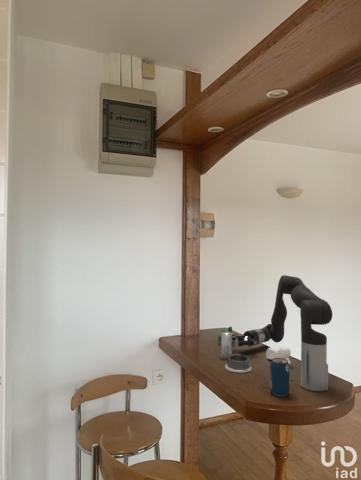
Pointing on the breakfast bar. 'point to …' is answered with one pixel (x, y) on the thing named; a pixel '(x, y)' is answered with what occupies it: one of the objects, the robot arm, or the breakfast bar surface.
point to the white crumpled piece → (278, 353)
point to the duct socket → (238, 364)
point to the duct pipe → (226, 345)
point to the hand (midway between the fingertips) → (232, 342)
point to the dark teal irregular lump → (221, 336)
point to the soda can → (279, 377)
